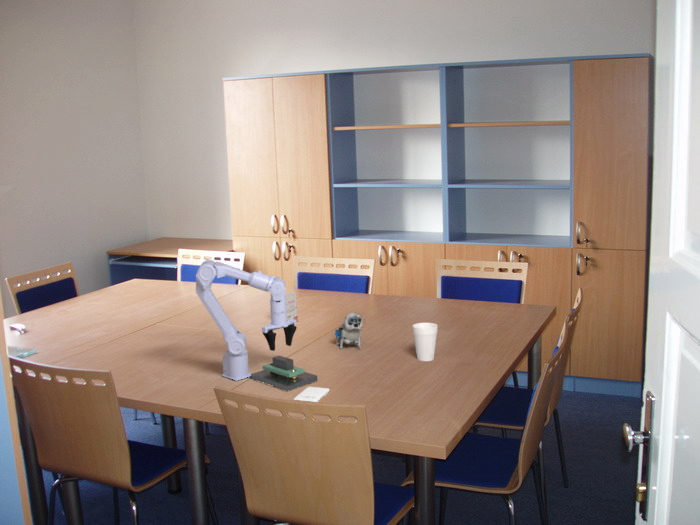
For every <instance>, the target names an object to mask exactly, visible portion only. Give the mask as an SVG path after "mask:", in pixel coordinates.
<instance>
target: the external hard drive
mask: <svg viewBox="0 0 700 525" xmlns="http://www.w3.org/2000/svg"><path fill="white" fill-rule="evenodd" d="M329 391H330V388H327V387H319V386H318V387H316V386H307V387H306V388H304V390H302V391H301V392H300V393H298V394H297V395H296V396H295V397H294V398H293V399H294V400H300V401H310V402H317V403H319V400H320V399H321V398H322V397H323V396H324V397H326V396H327V394H329V393H330V392H329ZM328 392H329V393H328ZM324 397H323V398H324ZM323 398H322V399H323ZM322 399H321V400H322ZM321 400H320V401H321Z"/></svg>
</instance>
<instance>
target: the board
mask: <svg viewBox="0 0 700 525" xmlns="http://www.w3.org/2000/svg"><path fill="white" fill-rule="evenodd" d="M271 359H272V362H269V363H266V364H263V365H262V366H261V368H262V370H268V371H271V372H274V373H277V374H280V375H283V376H286V377H289V378H290V377H293V376H296V375H299V374H302V373H305V372H306V371H305V368H301V367H298V366H295V365H294V359H292V358H289V357H285V356H283V355H275V356H272V357H271ZM292 369H294V370H295V371H294V372H292Z"/></svg>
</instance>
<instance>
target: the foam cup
mask: <svg viewBox="0 0 700 525" xmlns="http://www.w3.org/2000/svg"><path fill="white" fill-rule="evenodd" d="M438 331H439V330H438V324H437V323H435V322H434V323H433V322H418V323H414V324H412V333H413V339H414V340H413V341H414V345H415V352H416V357H417V358H416V359H417V360H418V361H420V362H431V361H434V358H435V351H436V343H437V336H438V335H437V334H438Z"/></svg>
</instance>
